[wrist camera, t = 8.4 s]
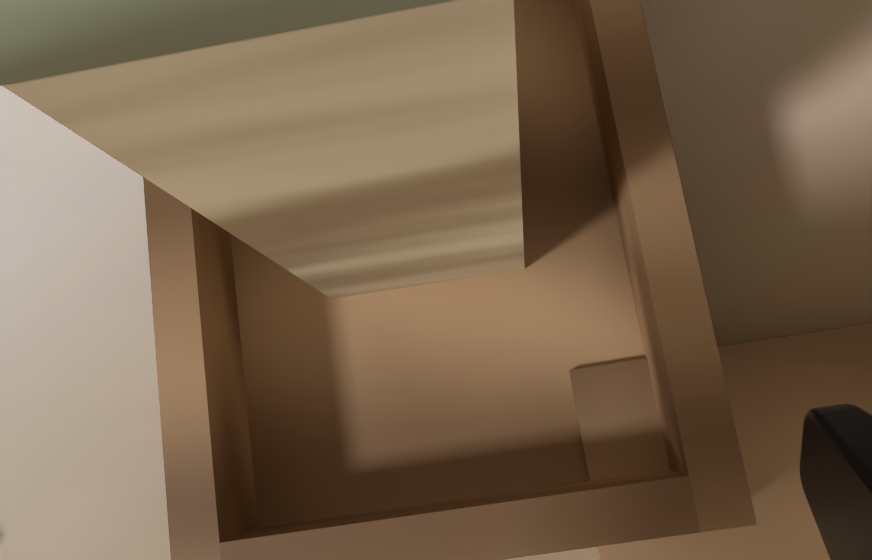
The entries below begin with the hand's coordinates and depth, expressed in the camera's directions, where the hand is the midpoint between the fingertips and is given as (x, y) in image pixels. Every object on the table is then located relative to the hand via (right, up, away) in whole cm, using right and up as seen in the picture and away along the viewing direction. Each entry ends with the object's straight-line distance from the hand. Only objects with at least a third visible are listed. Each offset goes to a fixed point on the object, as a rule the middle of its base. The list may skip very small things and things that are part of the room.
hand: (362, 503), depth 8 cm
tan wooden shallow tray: (0, +4, +11) cm, 12 cm away
